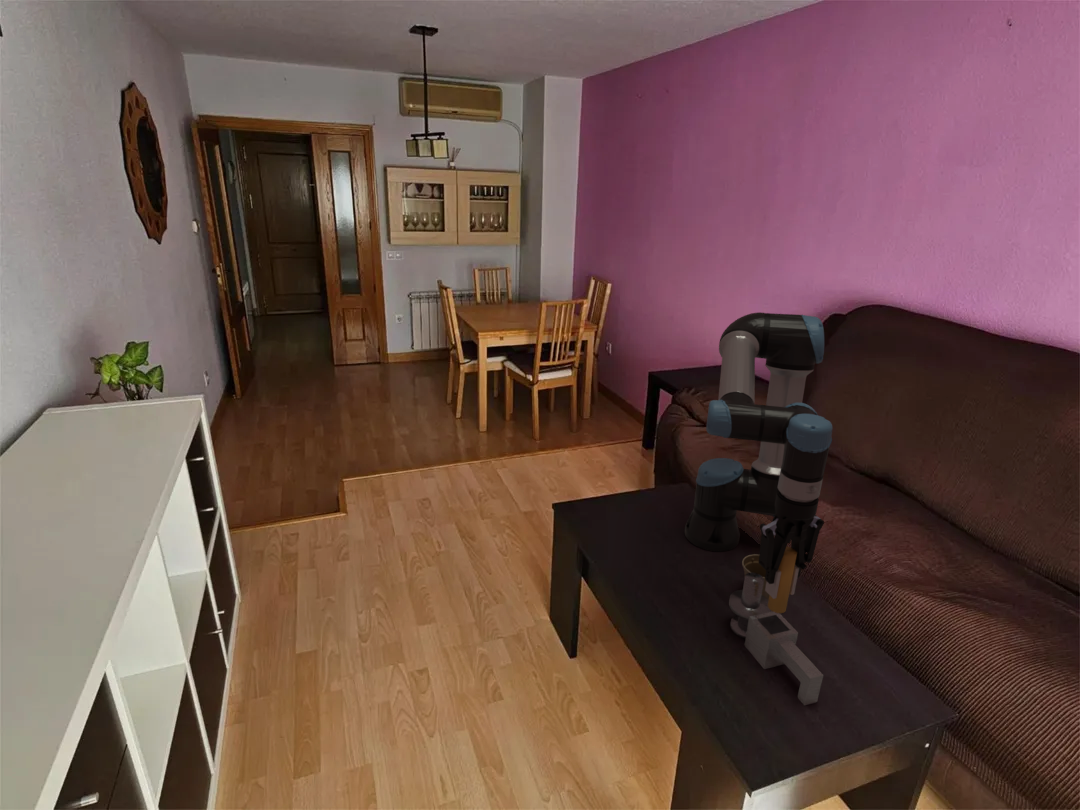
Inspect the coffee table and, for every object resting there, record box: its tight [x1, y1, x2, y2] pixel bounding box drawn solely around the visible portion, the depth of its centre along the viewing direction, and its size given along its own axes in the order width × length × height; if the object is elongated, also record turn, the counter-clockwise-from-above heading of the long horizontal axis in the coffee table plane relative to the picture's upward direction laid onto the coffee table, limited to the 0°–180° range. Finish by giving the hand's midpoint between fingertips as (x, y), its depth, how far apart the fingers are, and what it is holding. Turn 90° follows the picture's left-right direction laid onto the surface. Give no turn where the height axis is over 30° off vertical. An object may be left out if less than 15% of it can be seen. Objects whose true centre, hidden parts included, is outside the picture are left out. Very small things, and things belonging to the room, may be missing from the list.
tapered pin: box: [768, 545, 797, 614], centre depth 120 cm, size 4×4×14 cm
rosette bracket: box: [728, 572, 824, 706], centre depth 124 cm, size 26×9×14 cm, turn 16°
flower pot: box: [741, 553, 769, 600], centre depth 144 cm, size 9×9×9 cm
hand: (779, 592), depth 121 cm, fingers closed on tapered pin, 3 cm apart
